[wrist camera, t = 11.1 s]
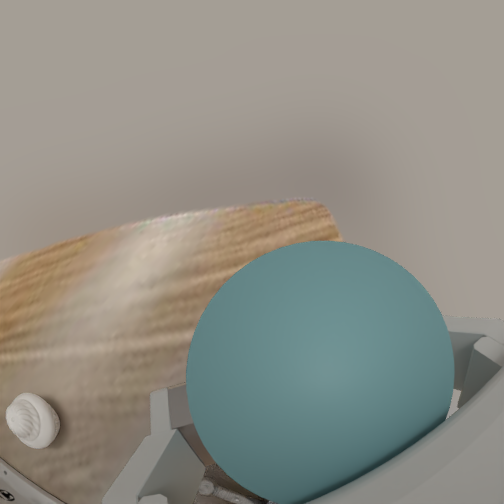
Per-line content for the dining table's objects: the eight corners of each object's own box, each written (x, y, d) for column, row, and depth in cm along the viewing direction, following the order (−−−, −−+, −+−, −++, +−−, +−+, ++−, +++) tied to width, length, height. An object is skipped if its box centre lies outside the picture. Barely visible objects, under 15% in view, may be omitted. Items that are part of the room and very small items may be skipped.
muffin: (41, 384, 25) (2, 375, 19) (78, 416, 24) (41, 415, 18) (24, 424, 23) (-15, 421, 16) (60, 457, 21) (23, 463, 15)
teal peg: (210, 414, 12) (137, 441, 3) (249, 332, 14) (259, 205, 5) (298, 449, 12) (402, 524, 3) (333, 366, 13) (469, 293, 5)
